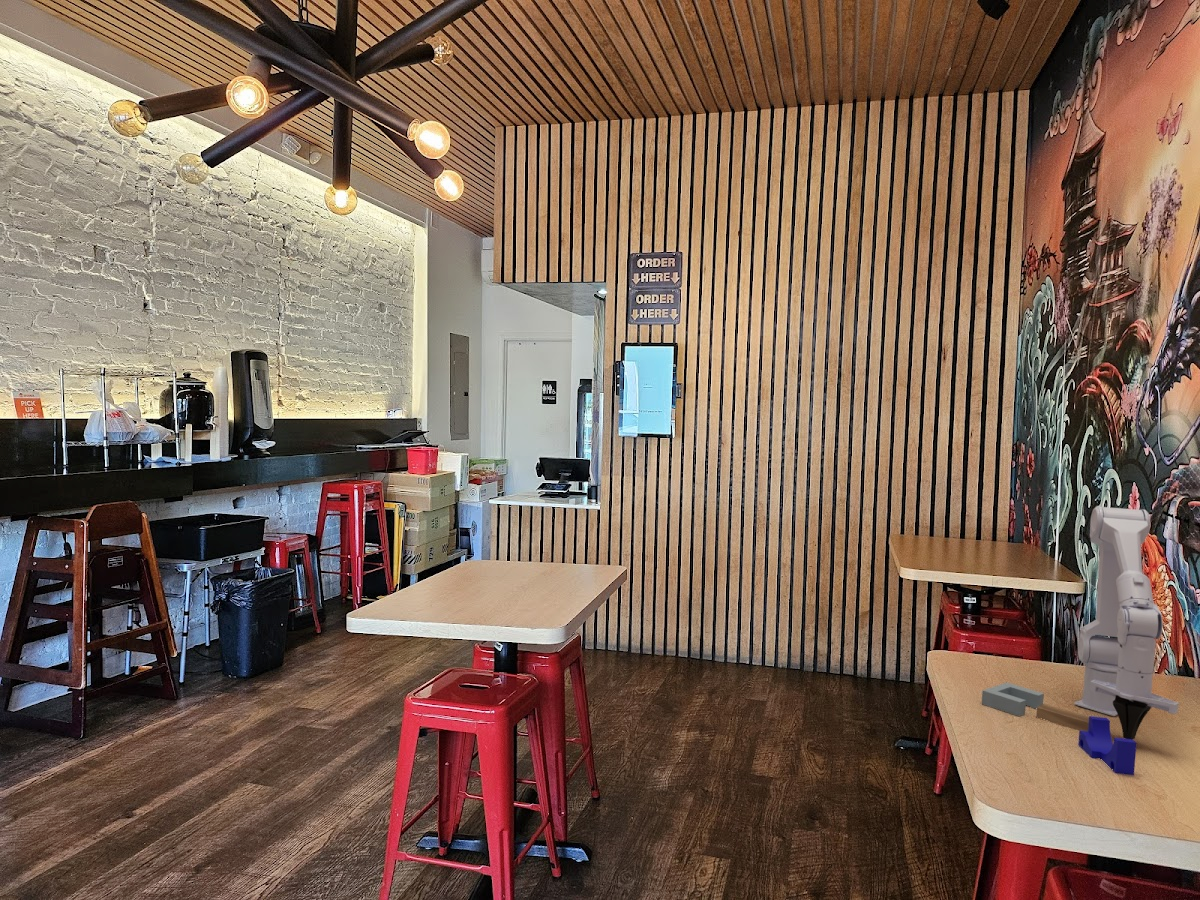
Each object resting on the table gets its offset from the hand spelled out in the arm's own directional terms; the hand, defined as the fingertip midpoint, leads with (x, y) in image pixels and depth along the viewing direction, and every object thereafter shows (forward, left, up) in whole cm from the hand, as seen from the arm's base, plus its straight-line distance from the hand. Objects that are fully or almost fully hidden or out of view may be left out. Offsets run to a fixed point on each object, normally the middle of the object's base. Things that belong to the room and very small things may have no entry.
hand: (1129, 738), depth 157 cm
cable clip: (+13, +1, -1) cm, 13 cm away
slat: (0, -10, -1) cm, 10 cm away
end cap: (0, -22, -1) cm, 22 cm away
